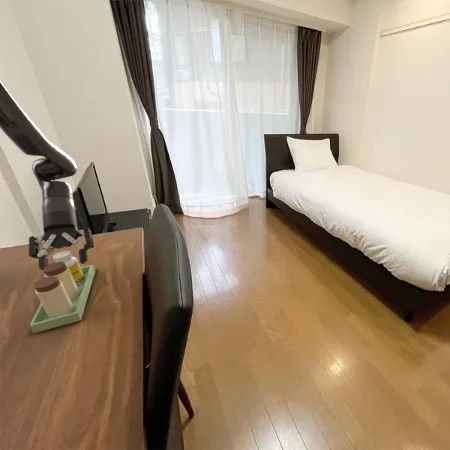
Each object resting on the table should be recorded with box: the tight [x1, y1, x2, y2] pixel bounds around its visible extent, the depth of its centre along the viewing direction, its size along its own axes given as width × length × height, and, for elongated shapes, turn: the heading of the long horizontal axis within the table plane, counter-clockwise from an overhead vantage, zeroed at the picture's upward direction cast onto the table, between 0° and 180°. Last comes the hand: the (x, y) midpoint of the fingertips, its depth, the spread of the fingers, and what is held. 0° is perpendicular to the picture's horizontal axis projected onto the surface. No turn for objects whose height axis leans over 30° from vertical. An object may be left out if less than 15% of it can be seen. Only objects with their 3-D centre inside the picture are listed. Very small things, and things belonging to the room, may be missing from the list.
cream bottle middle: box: [42, 262, 80, 300], centre depth 73 cm, size 5×5×10 cm
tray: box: [29, 264, 96, 334], centre depth 75 cm, size 23×9×2 cm, turn 27°
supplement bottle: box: [52, 250, 84, 285], centre depth 79 cm, size 5×5×10 cm
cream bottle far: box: [33, 276, 74, 319], centre depth 67 cm, size 5×5×10 cm
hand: (64, 266), depth 77 cm, fingers open, 8 cm apart
